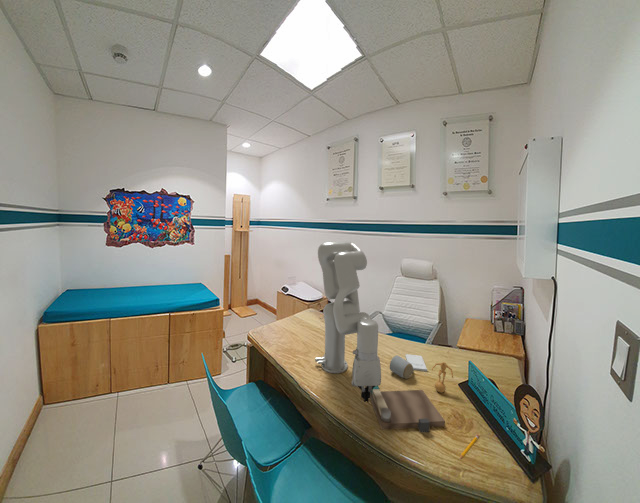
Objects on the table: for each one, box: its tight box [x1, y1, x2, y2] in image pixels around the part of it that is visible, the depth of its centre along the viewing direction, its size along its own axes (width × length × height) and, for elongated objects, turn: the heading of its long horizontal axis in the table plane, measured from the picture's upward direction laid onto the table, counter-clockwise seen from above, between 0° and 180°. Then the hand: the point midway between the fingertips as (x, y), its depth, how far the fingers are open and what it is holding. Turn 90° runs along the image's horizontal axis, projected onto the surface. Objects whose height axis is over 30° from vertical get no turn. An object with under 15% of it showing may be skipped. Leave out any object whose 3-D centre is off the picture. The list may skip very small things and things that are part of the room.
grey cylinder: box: [389, 355, 414, 380], centre depth 114 cm, size 11×8×8 cm
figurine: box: [431, 361, 454, 393], centre depth 103 cm, size 8×6×12 cm
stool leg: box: [371, 385, 391, 422], centre depth 91 cm, size 16×3×3 cm, turn 4°
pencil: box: [459, 434, 480, 460], centre depth 77 cm, size 1×13×1 cm, turn 128°
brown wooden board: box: [369, 389, 446, 430], centre depth 92 cm, size 22×16×2 cm
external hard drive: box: [404, 353, 428, 372], centre depth 123 cm, size 2×8×12 cm
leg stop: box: [417, 419, 431, 433], centre depth 83 cm, size 3×2×4 cm, turn 94°
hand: (365, 399), depth 94 cm, fingers closed
